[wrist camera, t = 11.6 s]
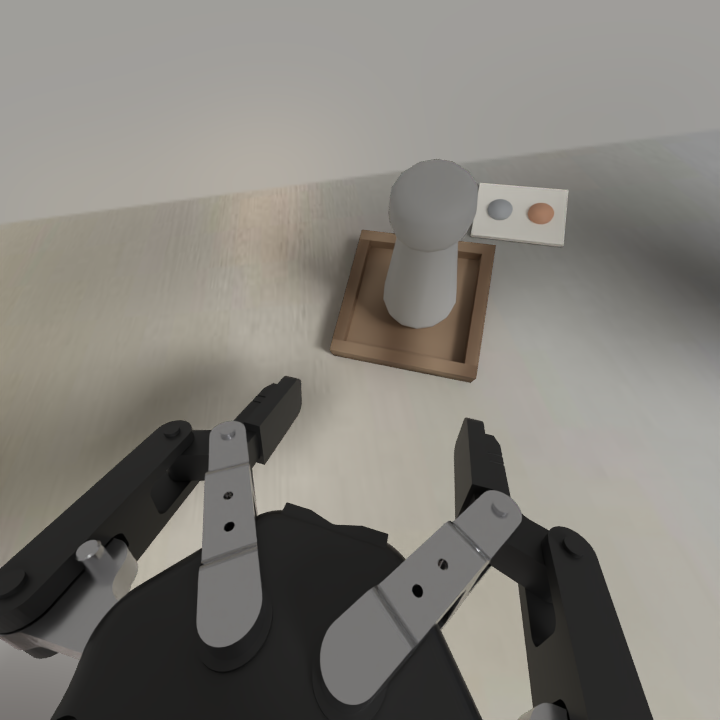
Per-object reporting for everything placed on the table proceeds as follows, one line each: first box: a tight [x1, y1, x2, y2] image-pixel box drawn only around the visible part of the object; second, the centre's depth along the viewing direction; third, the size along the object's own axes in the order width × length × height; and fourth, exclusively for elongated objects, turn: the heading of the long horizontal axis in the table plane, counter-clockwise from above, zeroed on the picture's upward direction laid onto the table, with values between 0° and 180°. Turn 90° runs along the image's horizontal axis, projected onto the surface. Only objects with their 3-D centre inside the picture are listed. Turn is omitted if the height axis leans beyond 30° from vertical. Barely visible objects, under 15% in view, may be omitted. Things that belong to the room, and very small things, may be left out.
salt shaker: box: [383, 159, 478, 329], centre depth 20 cm, size 6×6×13 cm
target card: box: [470, 183, 568, 247], centre depth 28 cm, size 8×6×1 cm
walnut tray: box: [330, 230, 496, 383], centre depth 26 cm, size 12×12×2 cm
